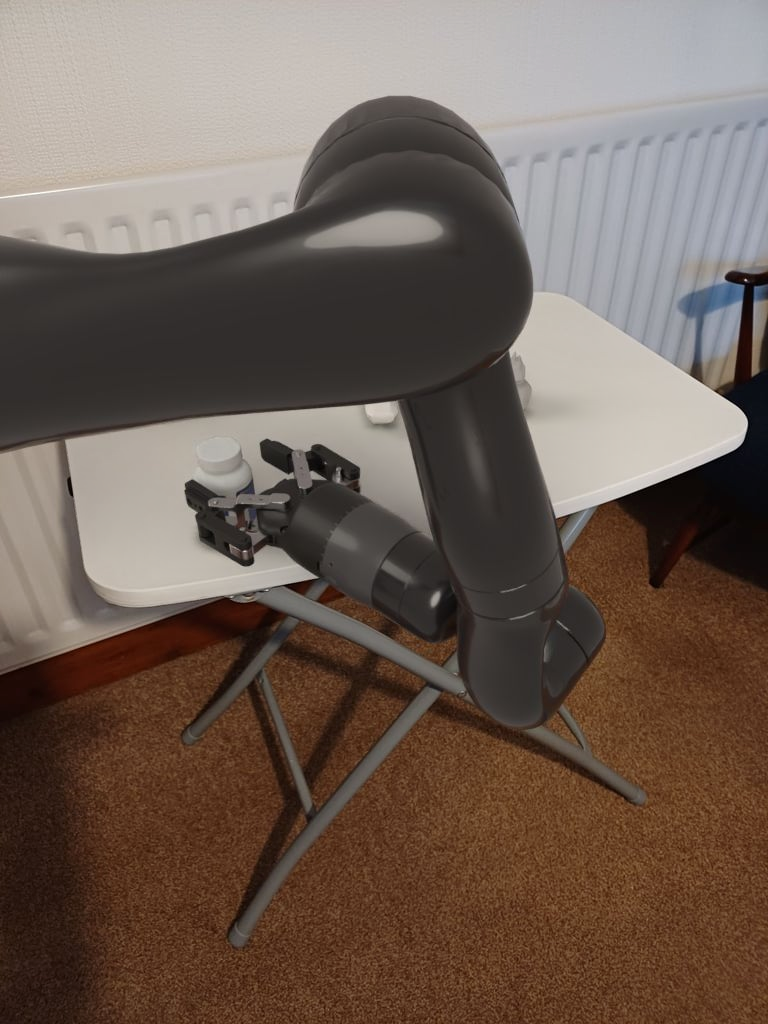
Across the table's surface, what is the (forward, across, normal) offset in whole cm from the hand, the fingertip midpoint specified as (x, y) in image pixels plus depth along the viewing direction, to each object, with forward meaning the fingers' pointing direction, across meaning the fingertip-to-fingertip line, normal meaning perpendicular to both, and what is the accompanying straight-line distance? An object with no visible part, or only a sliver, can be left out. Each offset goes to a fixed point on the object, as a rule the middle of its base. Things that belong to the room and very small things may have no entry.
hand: (227, 468), depth 71 cm
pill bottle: (+1, 0, +8) cm, 8 cm away
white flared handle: (+7, -28, +8) cm, 30 cm away
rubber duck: (-6, -37, +8) cm, 38 cm away
